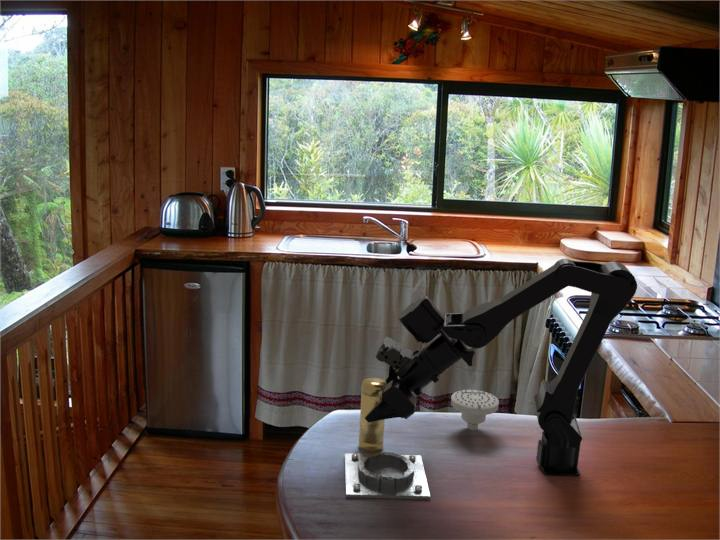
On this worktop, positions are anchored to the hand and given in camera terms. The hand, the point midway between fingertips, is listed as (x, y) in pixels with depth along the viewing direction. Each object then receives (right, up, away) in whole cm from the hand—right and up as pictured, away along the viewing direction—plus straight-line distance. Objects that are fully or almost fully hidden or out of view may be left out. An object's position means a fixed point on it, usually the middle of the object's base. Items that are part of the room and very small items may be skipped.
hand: (369, 409), depth 143 cm
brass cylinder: (0, -7, +2) cm, 8 cm away
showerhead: (+21, -6, +11) cm, 25 cm away
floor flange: (+3, -10, -9) cm, 14 cm away
